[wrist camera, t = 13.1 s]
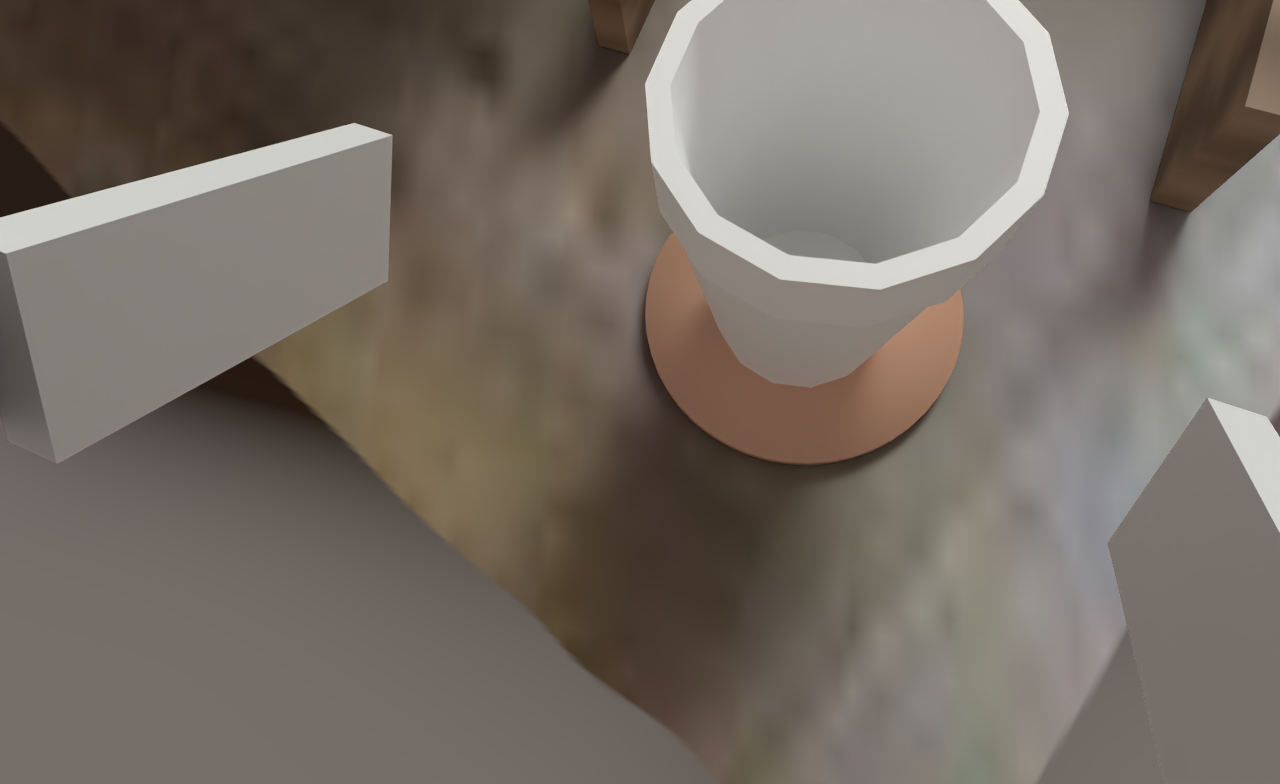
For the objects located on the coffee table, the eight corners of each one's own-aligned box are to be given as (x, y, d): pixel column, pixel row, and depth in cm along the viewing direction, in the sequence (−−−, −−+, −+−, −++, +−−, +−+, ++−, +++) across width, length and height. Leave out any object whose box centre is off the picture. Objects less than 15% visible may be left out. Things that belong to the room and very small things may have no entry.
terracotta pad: (711, 142, 34) (710, 134, 33) (997, 228, 32) (1002, 220, 31) (599, 399, 31) (597, 395, 31) (902, 513, 29) (906, 511, 28)
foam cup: (801, 155, 33) (846, -131, 20) (980, 307, 30) (1158, 87, 18) (628, 309, 32) (564, 108, 19) (799, 479, 29) (852, 375, 17)
